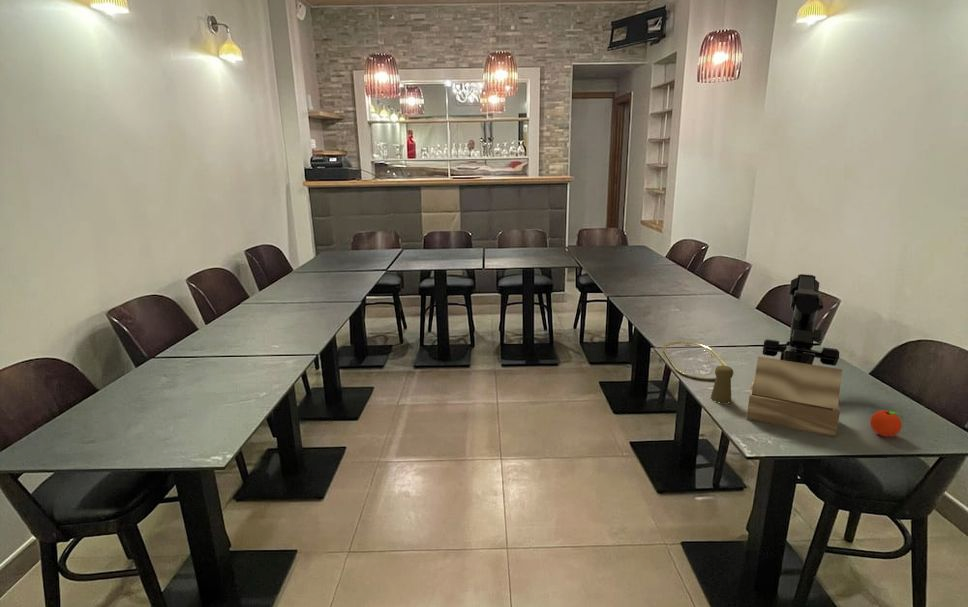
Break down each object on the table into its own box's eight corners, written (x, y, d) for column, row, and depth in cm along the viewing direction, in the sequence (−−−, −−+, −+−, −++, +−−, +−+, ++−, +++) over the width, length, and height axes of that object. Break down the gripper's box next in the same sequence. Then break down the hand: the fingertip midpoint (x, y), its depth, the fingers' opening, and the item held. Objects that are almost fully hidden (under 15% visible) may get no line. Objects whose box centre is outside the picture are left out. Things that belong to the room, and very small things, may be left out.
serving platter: (704, 345, 214) (705, 342, 214) (737, 382, 181) (738, 378, 180) (657, 345, 216) (657, 341, 215) (681, 381, 182) (681, 377, 182)
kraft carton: (749, 402, 166) (752, 379, 164) (832, 418, 156) (837, 394, 154) (746, 418, 156) (749, 395, 154) (835, 437, 146) (840, 412, 144)
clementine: (889, 427, 150) (894, 404, 148) (909, 440, 144) (915, 417, 142) (861, 428, 150) (866, 405, 148) (880, 441, 143) (885, 418, 141)
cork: (713, 393, 172) (717, 361, 169) (733, 398, 169) (737, 366, 166) (707, 400, 168) (711, 367, 165) (728, 405, 164) (732, 372, 161)
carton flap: (758, 356, 156) (758, 356, 155) (841, 369, 146) (842, 369, 146) (752, 393, 154) (752, 393, 153) (837, 409, 144) (837, 409, 144)
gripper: (768, 313, 155) (760, 361, 149) (844, 322, 146) (840, 374, 140) (765, 330, 164) (758, 377, 158) (838, 340, 155) (833, 389, 149)
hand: (796, 379), depth 151 cm, fingers closed, pressing on carton flap
